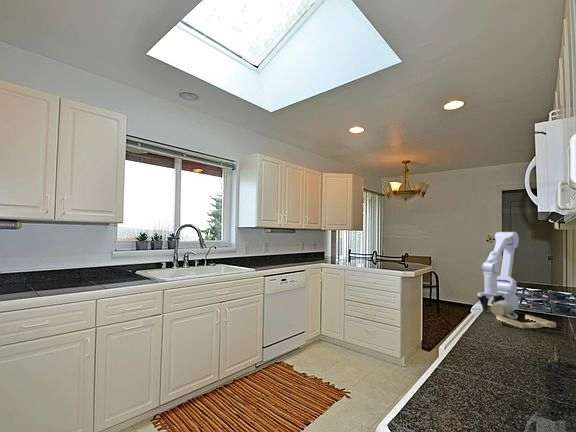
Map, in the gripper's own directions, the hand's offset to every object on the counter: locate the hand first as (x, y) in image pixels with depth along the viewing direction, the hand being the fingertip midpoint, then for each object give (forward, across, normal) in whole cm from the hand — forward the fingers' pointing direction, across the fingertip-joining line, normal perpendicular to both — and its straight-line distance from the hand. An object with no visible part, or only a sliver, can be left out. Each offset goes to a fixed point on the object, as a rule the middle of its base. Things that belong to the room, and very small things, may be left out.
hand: (491, 310), depth 161 cm
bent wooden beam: (+1, 0, -19) cm, 19 cm away
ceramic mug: (+2, 0, -8) cm, 8 cm away
